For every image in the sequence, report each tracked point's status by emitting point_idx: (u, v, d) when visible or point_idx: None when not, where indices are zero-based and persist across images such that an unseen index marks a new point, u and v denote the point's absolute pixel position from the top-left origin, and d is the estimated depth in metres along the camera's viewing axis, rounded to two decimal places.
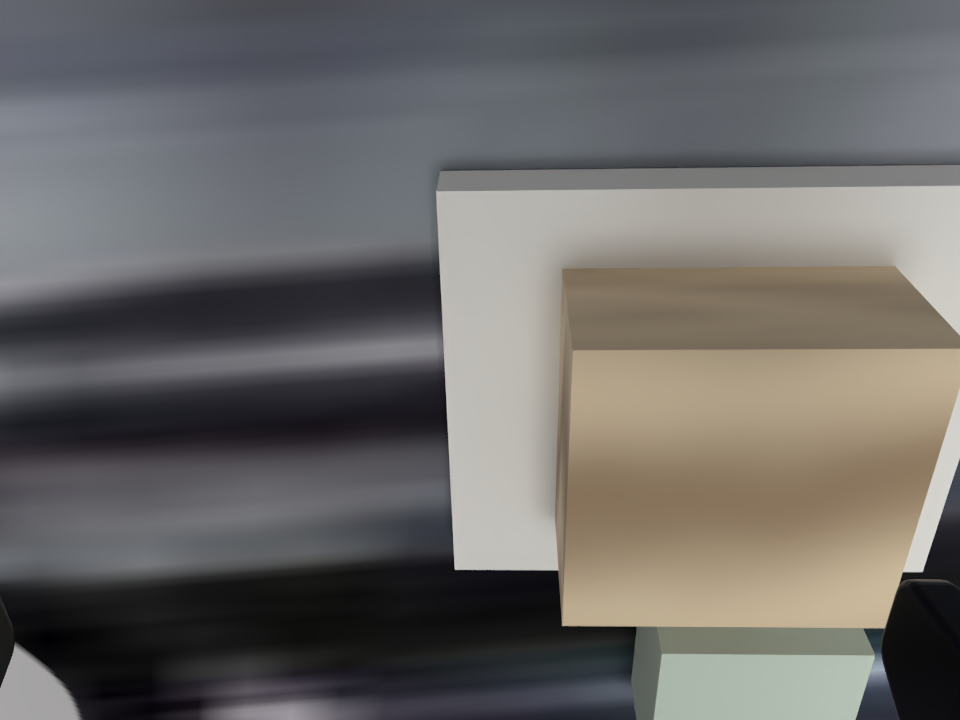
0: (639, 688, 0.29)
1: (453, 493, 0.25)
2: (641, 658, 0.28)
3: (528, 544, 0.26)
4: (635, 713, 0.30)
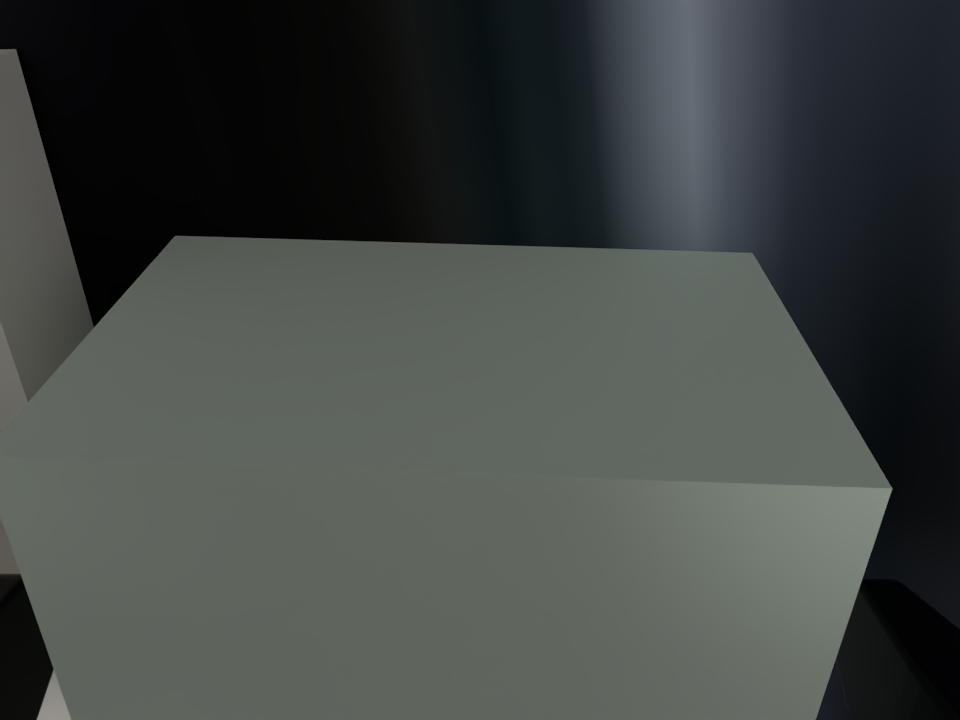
0: None
1: None
2: None
3: None
4: None
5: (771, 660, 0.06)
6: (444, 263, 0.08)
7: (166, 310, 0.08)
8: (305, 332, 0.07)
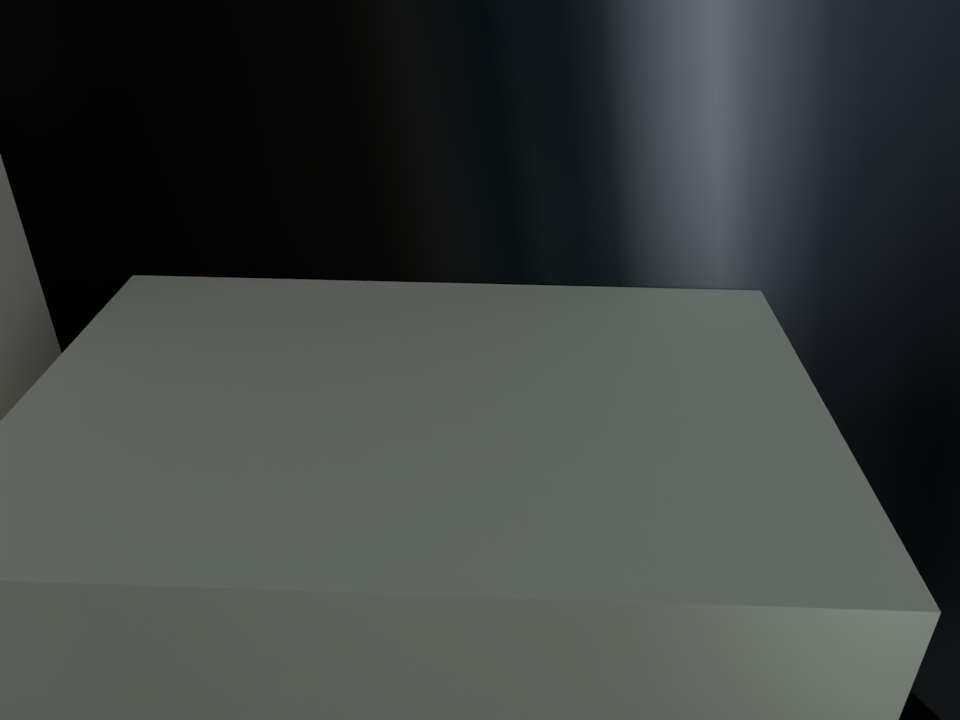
0: None
1: None
2: None
3: None
4: None
5: None
6: (422, 317, 0.08)
7: (104, 377, 0.07)
8: (258, 404, 0.06)
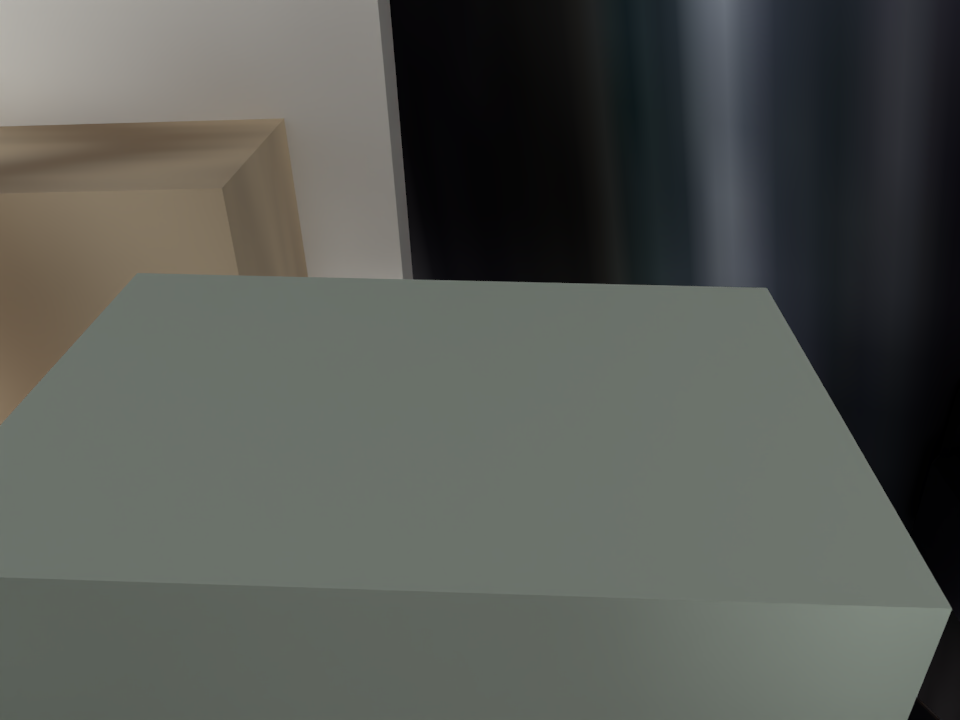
0: None
1: None
2: None
3: None
4: None
5: None
6: (426, 313, 0.08)
7: (110, 374, 0.07)
8: (265, 402, 0.06)
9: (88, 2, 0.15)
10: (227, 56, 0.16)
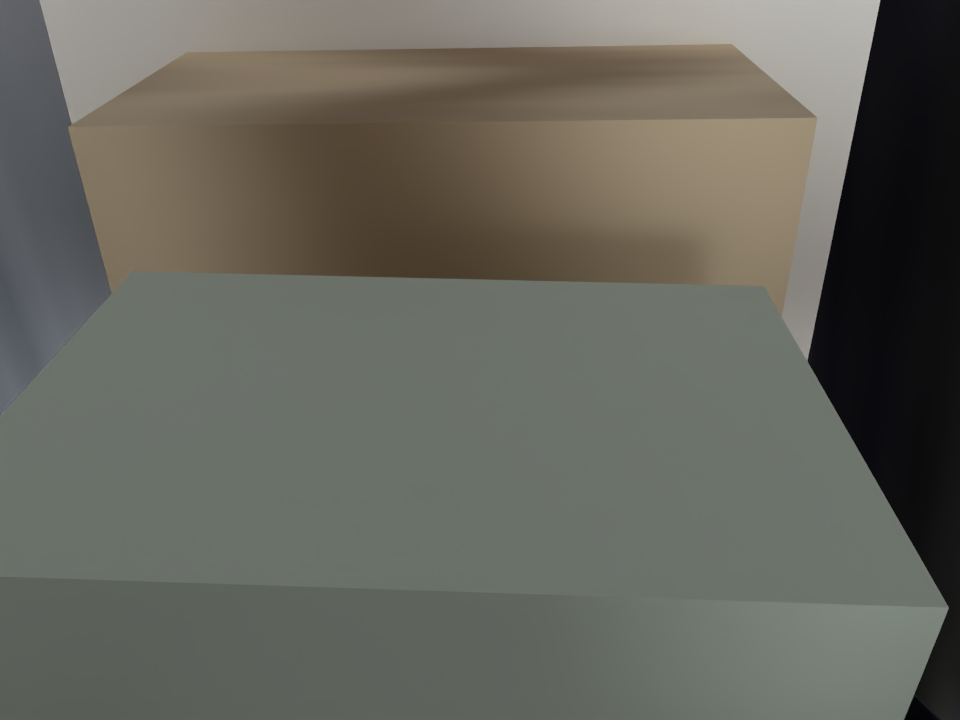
0: None
1: None
2: None
3: None
4: None
5: None
6: (423, 312, 0.08)
7: (103, 373, 0.07)
8: (259, 400, 0.06)
9: None
10: None
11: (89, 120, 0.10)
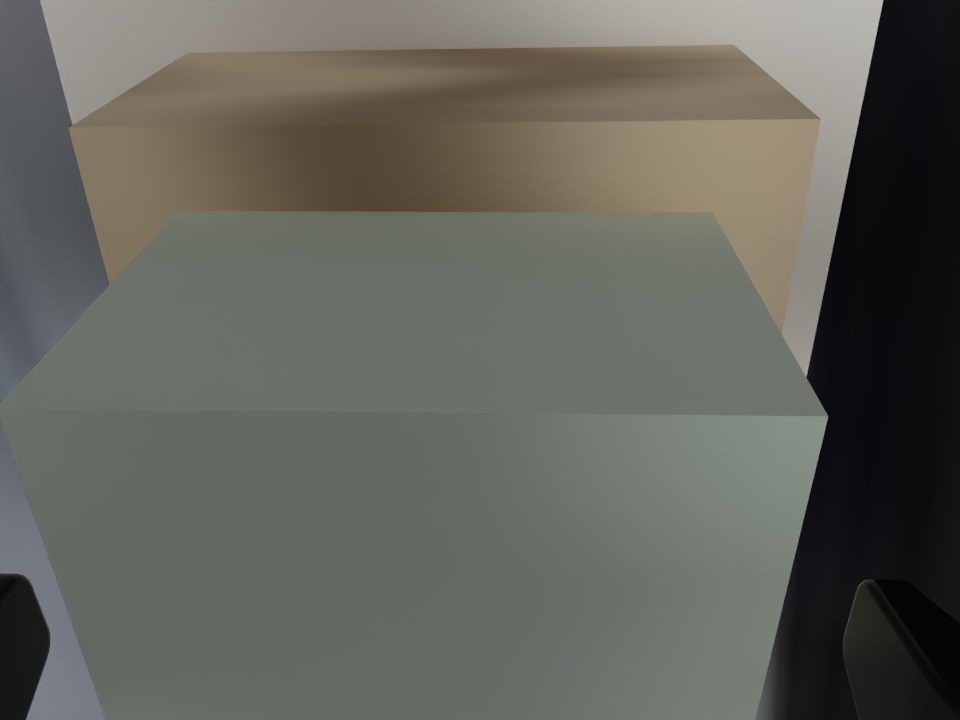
0: None
1: None
2: None
3: None
4: None
5: (728, 585, 0.07)
6: (424, 236, 0.09)
7: (164, 281, 0.08)
8: (293, 298, 0.08)
9: None
10: None
11: (90, 120, 0.09)
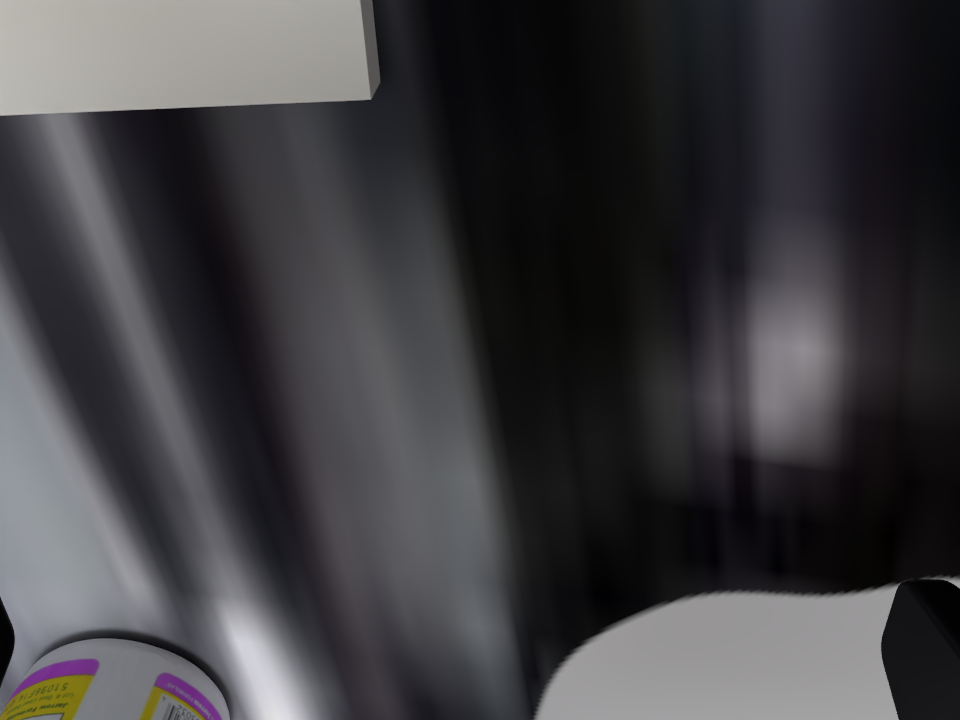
0: None
1: (215, 102, 0.16)
2: None
3: None
4: None
5: None
6: None
7: None
8: None
9: None
10: None
11: None
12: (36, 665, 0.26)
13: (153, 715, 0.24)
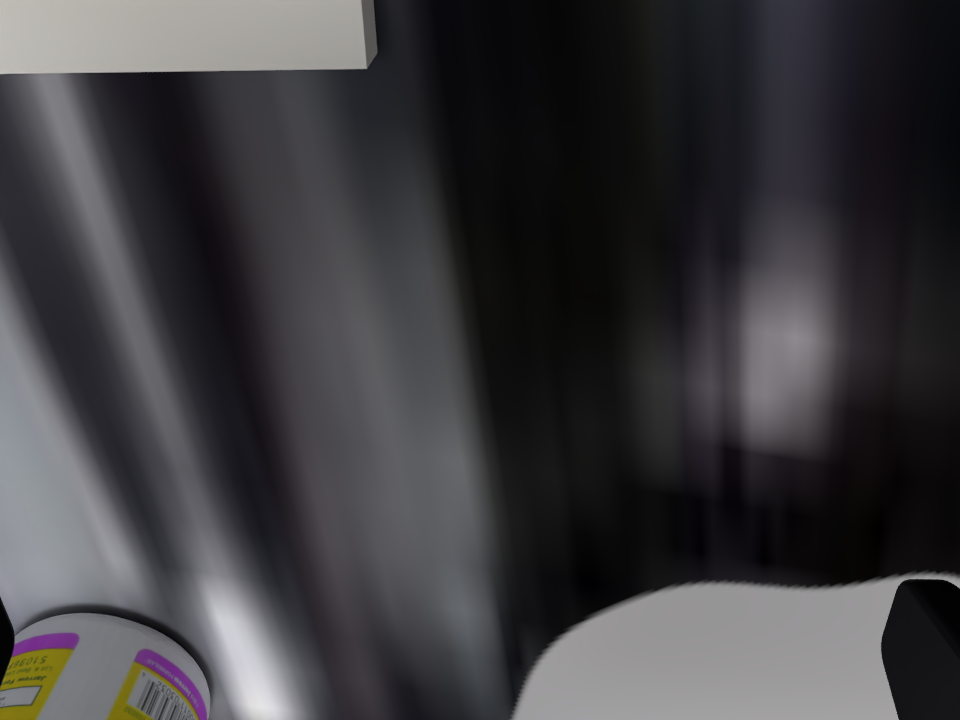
0: None
1: (209, 67, 0.16)
2: None
3: None
4: None
5: None
6: None
7: None
8: None
9: None
10: None
11: None
12: (15, 638, 0.25)
13: (132, 691, 0.24)
